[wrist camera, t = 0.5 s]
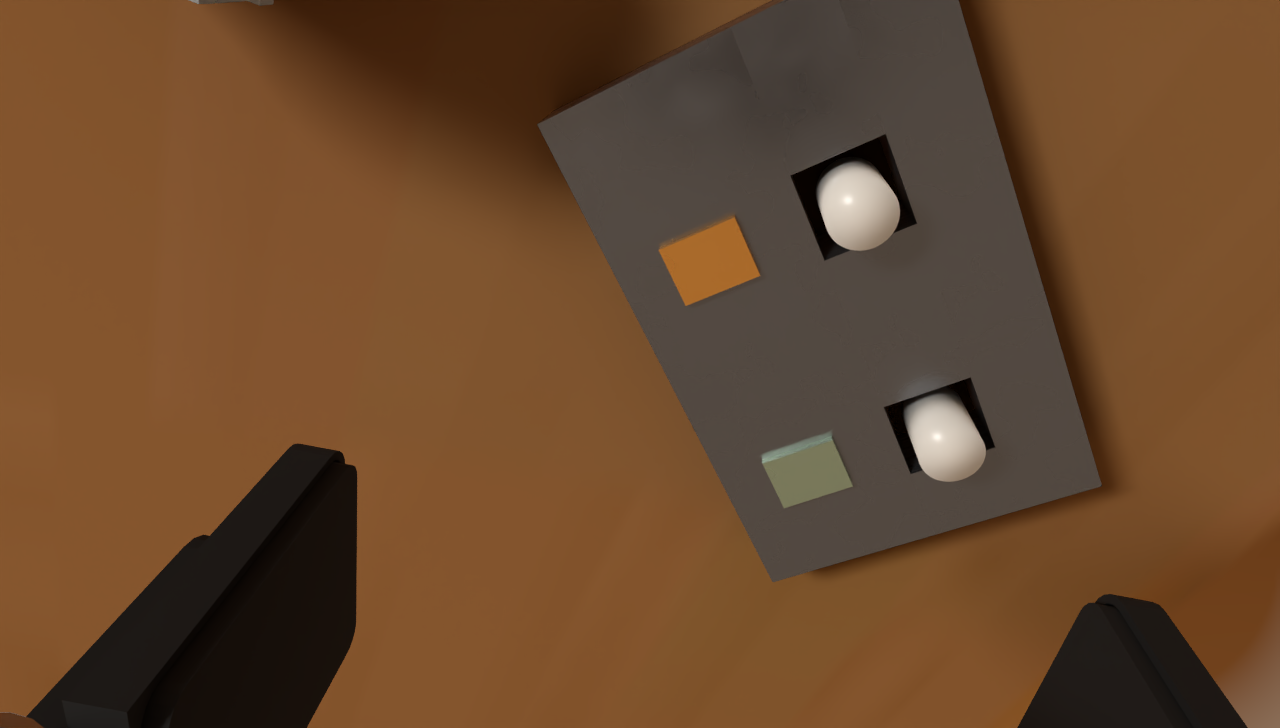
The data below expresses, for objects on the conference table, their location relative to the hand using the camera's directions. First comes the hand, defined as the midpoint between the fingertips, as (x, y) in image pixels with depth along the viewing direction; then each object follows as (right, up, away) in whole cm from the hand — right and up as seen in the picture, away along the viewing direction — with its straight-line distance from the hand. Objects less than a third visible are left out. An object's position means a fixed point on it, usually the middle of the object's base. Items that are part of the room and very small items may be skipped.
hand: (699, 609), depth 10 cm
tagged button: (+7, +10, +19) cm, 22 cm away
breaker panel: (+7, +6, +22) cm, 24 cm away
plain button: (+11, +1, +23) cm, 25 cm away
